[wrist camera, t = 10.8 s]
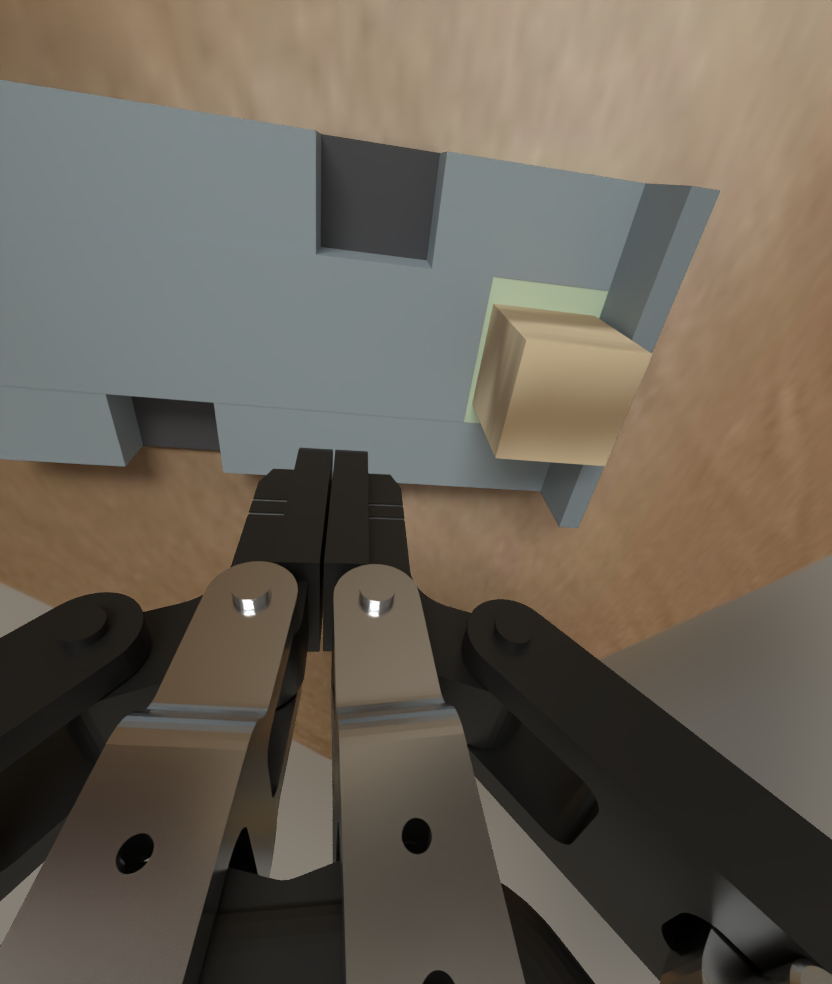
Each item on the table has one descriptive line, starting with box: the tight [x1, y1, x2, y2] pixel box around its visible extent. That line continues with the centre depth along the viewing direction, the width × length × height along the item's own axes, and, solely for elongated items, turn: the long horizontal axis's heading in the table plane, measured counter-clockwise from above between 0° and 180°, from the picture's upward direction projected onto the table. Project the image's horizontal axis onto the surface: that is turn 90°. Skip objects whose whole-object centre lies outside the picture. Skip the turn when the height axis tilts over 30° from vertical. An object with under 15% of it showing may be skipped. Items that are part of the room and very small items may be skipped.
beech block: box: [472, 304, 653, 466], centre depth 19 cm, size 4×4×5 cm
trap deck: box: [0, 80, 720, 528], centre depth 19 cm, size 14×28×5 cm, turn 83°
